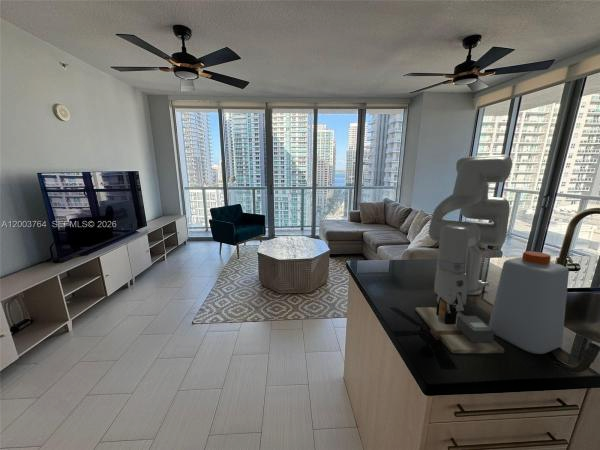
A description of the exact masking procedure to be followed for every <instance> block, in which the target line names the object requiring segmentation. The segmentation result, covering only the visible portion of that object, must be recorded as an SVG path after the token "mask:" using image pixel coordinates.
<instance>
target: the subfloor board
mask: <svg viewBox="0 0 600 450" xmlns="http://www.w3.org/2000/svg"><path fill="white" fill-rule="evenodd" d="M415 311H416V313H418V315H419V317H421V319H423V320H424V322H425V323H426V324H427V325H428V326H429V328H430V330H429V333H430V334H431V336H433V338H434V339H435V340H436V341H441V342H442V343H443V344H444V345H445V346H446V347H447V349H448V350H449V351H450V352H451V353H452V354H504V353H505V348H504V347H503V346H501V345H500V344H499V343H498V342H497V341H495V340H494V337H495V336H494V335H493V342H471V341H470V340H469V339H468V338H467V337H466V336H465V335H464V334H463V333H462V332H461V331H460V330H459V329H458V328H457V327H456V325H457V317H456V324H451V325H446V324H442V323H440V322H439V321H438V316H437V315H436V312H437V306H436V307H431V306H428V307H427V306H426V307H424V306H422V307H418V306H417V307H415ZM457 316H466V315H465V314H463V313H462V311H459V312H458V313H457Z"/></svg>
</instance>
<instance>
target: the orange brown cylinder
mask: <svg viewBox="0 0 600 450" xmlns="http://www.w3.org/2000/svg"><path fill="white" fill-rule="evenodd" d="M453 307H454V305H451V308H453ZM446 312H447V302H446V301H444V300H443V299H442V298H441V299H440V304H439V315H438V321H439V322H440V323H442V324H445V313H446ZM446 325H451V324H446Z"/></svg>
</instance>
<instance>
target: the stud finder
mask: <svg viewBox="0 0 600 450" xmlns="http://www.w3.org/2000/svg"><path fill="white" fill-rule="evenodd" d="M456 327H457V328H458V329H459V330H460V331H461V332H462V333H463V334H464V335H465V336H466V337H467V338H468V339H469V340H470V341H471V342H493V336H494V335H495V334H494V330H493V329H492V328H490V327H489V324H486V322H484V321H483V320H482V319H480V318H479V317H478V316H477V315H465V316H457V325H456Z"/></svg>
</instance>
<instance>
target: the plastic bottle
mask: <svg viewBox="0 0 600 450" xmlns="http://www.w3.org/2000/svg"><path fill="white" fill-rule="evenodd" d="M551 257H552V256H551V255H549V254H547V253H545V252H540V251H531V250H529V251H527V250H526V251H524V252H523V253H522V256H521V257H520V256H519V257H515V258H511V259H506V260H504V261H503V265H502V269H501V272H500V276H499V280H498V285H497V289H496V294H495V297H494V302H493V306H492V309H491V315H490V319H489V322H488V326H489V327H490V328H492V329H493V330H494V335H495V336H496V337H499V338H501V339H503V340H504V341H506V342H508V343H509V344H512V345H514V346H515V347H518V348H519V349H521V350H523V351H525V352H527V353H531V354H534V355H543V354H547V353H549V352H552V351H554V350H556V349H558V348H560V347H562V346H563V340H564V330H565V329H564V328H565V327H564V326H565V319H566V318H565V317H566V305H567V296H568V295H567V292H568V284H569V276H570V275H569V273H570V270H569V269H568V268H567V266H564V265H562V264H560V263H555V262H551Z"/></svg>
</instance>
